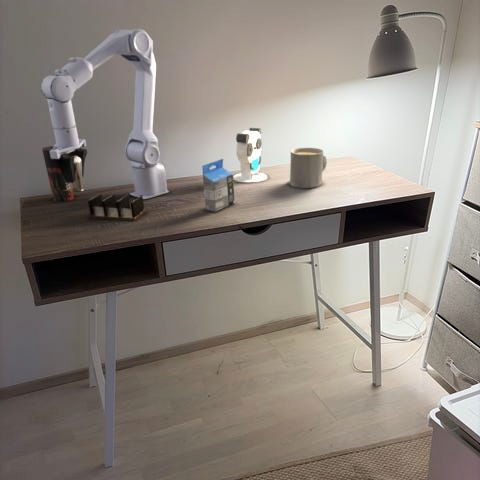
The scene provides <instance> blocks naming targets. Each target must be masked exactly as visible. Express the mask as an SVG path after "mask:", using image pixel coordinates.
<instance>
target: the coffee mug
mask: <svg viewBox="0 0 480 480" xmlns="http://www.w3.org/2000/svg"><path fill="white" fill-rule="evenodd" d="M327 163H328V159H327V155H326V154H324V150H323V149H321V148H317V147H297V148H293V149H292V150H290V166H289V167H290V169H289V172H290V174H289V177H290V178H289V185H290V186H291V187H294V188H299V189H312V188H318V187H320V186H322V185H323V184H322V183H323V172H324V171H325V170H326V167H327Z"/></svg>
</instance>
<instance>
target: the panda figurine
mask: <svg viewBox="0 0 480 480" xmlns="http://www.w3.org/2000/svg"><path fill="white" fill-rule="evenodd" d="M261 134H262V128H260V127H249V129H248V130H244V131H242V132H241V133H236V137H235V140H236V157H237V160H238V161H239V165H240V173H237V174H235V175H233V181H235V182H239V183H244V184H245V183H246V184H251V183H252V184H253V183H259V182H260V183H261V182H264V181H266V180H267V179H268V175H267V174H265V173H263V172H261V171H260V164H261V162H262V157H261V151H262V143H263V142H262V138H261Z"/></svg>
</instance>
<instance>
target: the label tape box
mask: <svg viewBox="0 0 480 480" xmlns="http://www.w3.org/2000/svg"><path fill="white" fill-rule="evenodd" d="M223 166H224V158H221V159H218V160H215V161H212V162H209V163H206V164H202V167H201V168H202V169H201V170H202V181H203V182H202V183H203V184H202V185H203V194H204V195H203V196H204V206H205V210H206V211H210V212H215V213H216V212H218V211H220V210H223V209H225V208H227V207H229V206H231V205H233V204H235V187H234V179H233V176H234V174H233V173H232V172H230V171H228V170H227V169H226V168H224V167H223ZM212 167H213V168H212ZM210 168H211V169H210Z"/></svg>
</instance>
